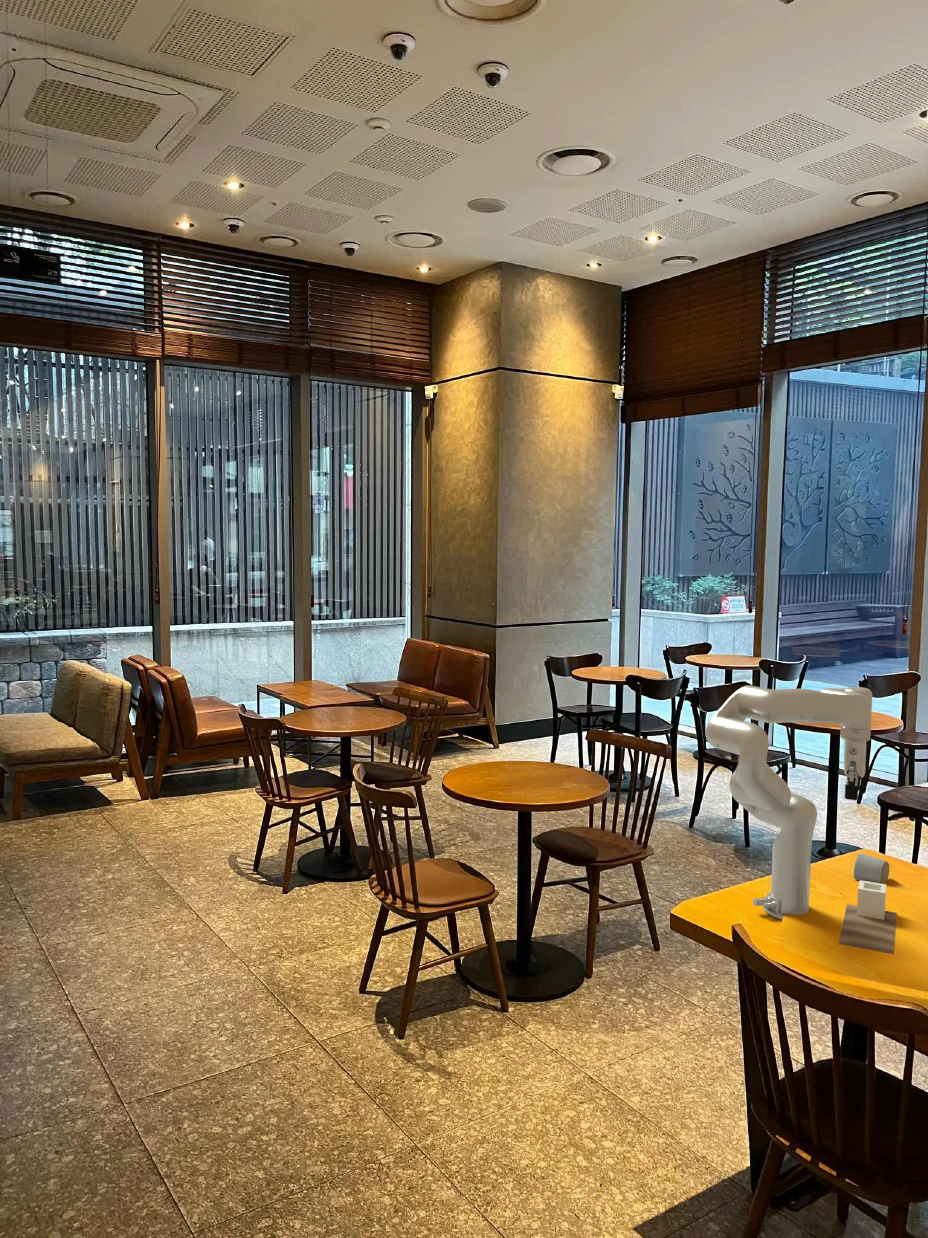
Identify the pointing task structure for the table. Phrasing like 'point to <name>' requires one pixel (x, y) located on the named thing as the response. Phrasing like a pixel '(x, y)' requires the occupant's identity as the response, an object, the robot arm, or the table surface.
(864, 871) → the ceramic mug
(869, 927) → the walnut board
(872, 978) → the table surface
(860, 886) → the cream housing
